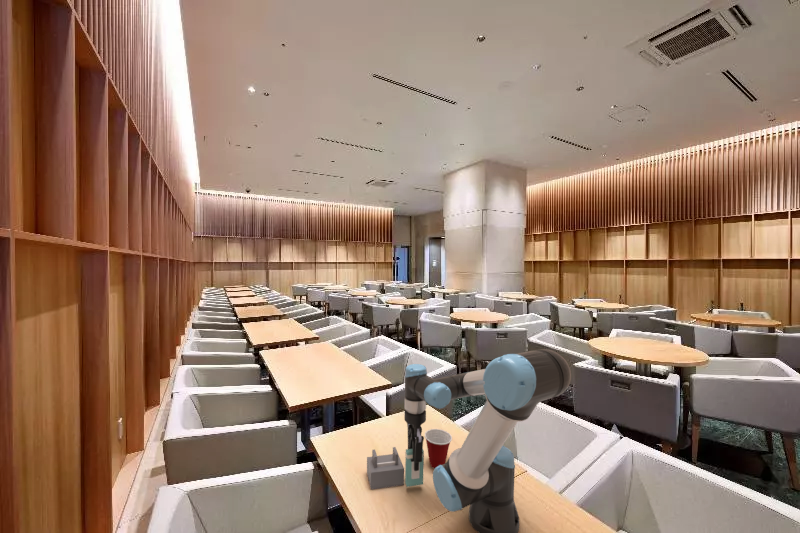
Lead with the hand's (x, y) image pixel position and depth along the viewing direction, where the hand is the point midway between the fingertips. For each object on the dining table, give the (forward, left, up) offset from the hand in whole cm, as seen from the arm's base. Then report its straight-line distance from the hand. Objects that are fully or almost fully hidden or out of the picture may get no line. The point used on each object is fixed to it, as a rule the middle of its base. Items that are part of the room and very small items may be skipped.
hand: (414, 475), depth 125 cm
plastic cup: (+12, -13, -5) cm, 18 cm away
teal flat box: (0, 0, -3) cm, 3 cm away
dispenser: (+8, +9, -5) cm, 13 cm away
